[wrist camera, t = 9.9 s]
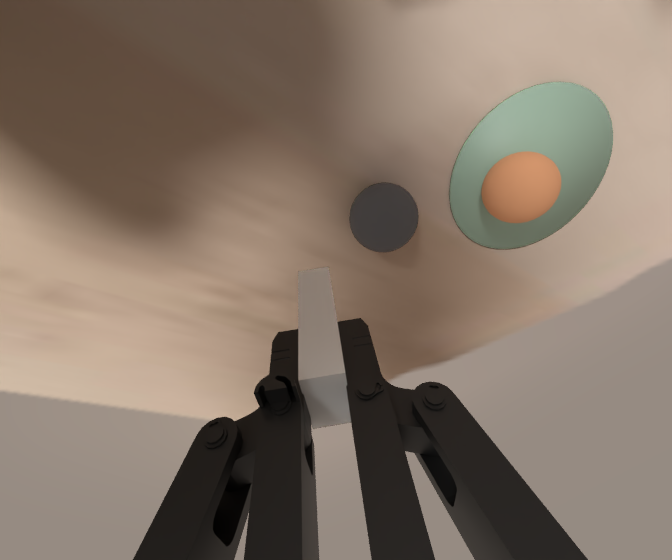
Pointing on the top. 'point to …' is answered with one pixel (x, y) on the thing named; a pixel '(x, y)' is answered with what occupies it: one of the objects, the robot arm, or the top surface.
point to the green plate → (541, 137)
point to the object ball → (521, 187)
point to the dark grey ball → (383, 217)
